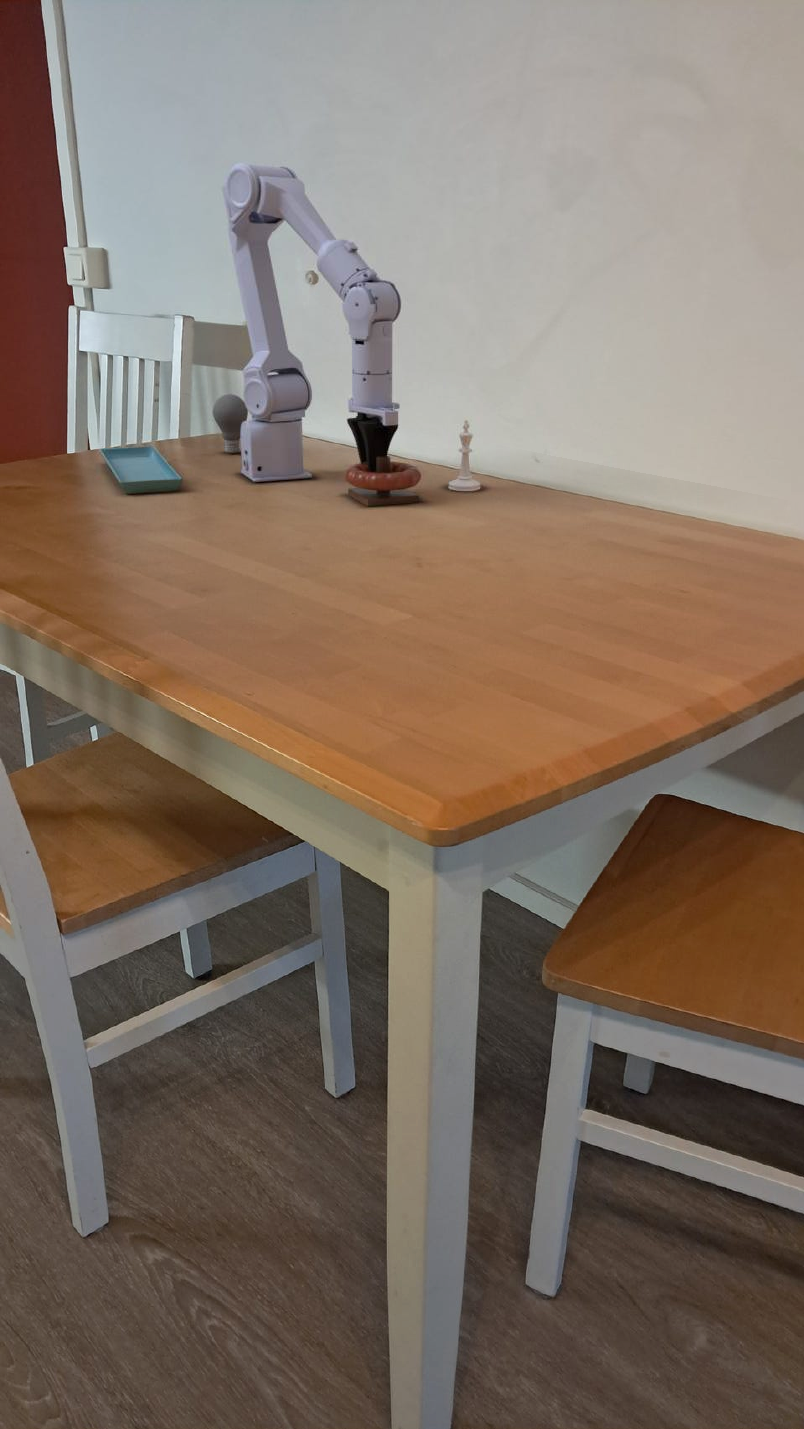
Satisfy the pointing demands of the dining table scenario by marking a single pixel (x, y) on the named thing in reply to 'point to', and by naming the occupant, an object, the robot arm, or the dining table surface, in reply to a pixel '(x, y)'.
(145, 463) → the teal serving tray
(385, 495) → the post
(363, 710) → the dining table surface
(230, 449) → the light bulb
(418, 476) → the ring
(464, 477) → the chess piece
